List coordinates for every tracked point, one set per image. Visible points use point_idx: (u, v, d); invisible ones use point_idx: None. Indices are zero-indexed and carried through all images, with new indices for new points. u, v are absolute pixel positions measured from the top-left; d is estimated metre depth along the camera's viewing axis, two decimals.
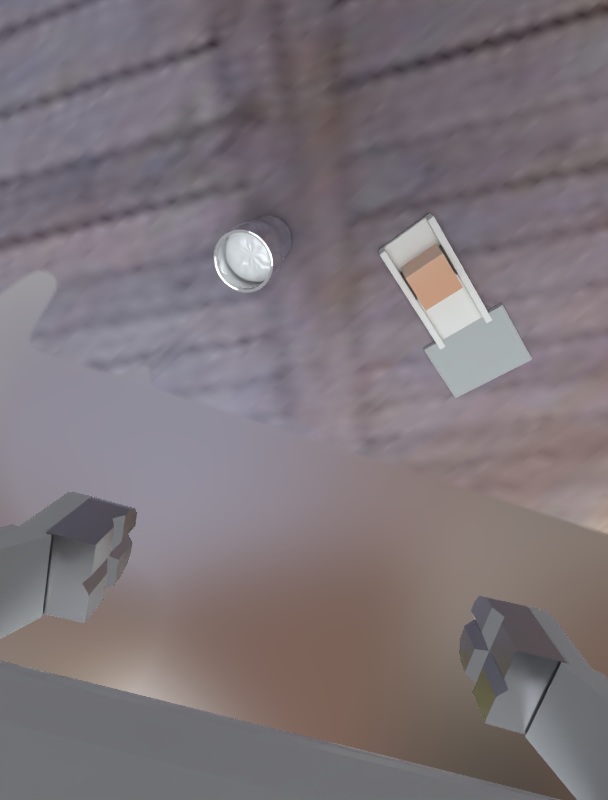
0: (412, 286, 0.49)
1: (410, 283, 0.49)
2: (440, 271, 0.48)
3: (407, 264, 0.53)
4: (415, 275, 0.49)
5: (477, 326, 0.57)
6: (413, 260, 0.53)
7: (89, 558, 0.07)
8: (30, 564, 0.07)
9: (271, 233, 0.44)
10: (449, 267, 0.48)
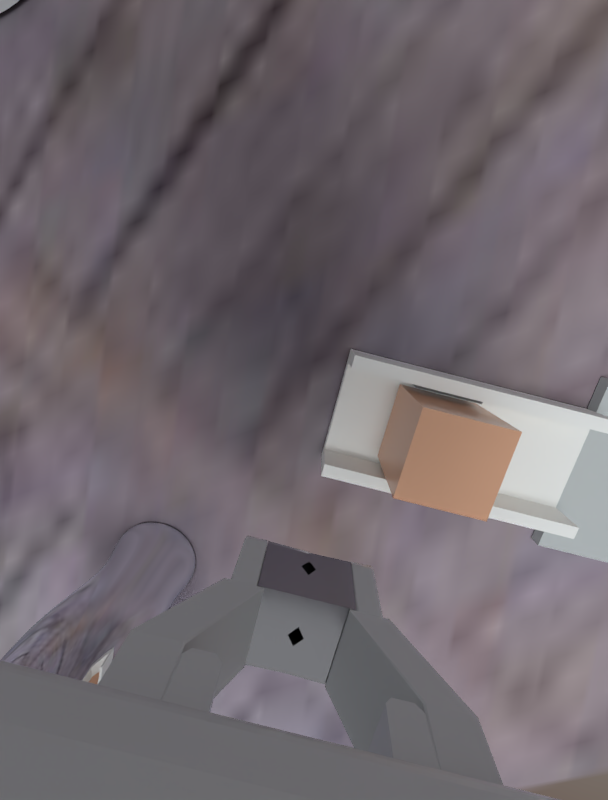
0: (419, 501, 0.20)
1: (411, 499, 0.20)
2: (448, 440, 0.20)
3: (382, 447, 0.25)
4: (408, 480, 0.20)
5: (598, 443, 0.26)
6: (386, 435, 0.25)
7: (297, 610, 0.07)
8: (248, 618, 0.07)
9: (59, 643, 0.18)
10: (460, 419, 0.19)
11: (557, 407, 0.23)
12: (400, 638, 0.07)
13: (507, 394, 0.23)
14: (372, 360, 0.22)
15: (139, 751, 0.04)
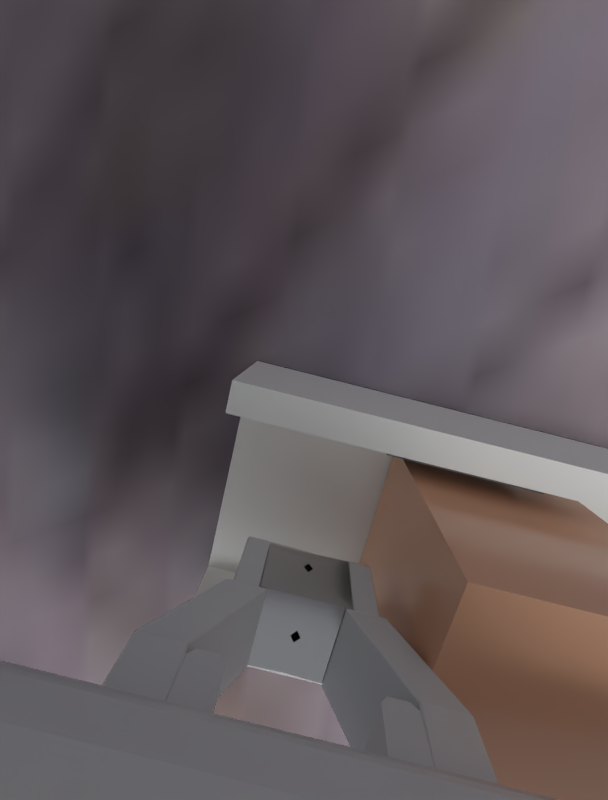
0: None
1: None
2: (548, 678, 0.06)
3: None
4: None
5: None
6: (368, 557, 0.12)
7: (299, 611, 0.07)
8: (250, 619, 0.07)
9: None
10: (588, 622, 0.06)
11: None
12: (396, 637, 0.07)
13: None
14: (276, 393, 0.09)
15: (139, 751, 0.04)
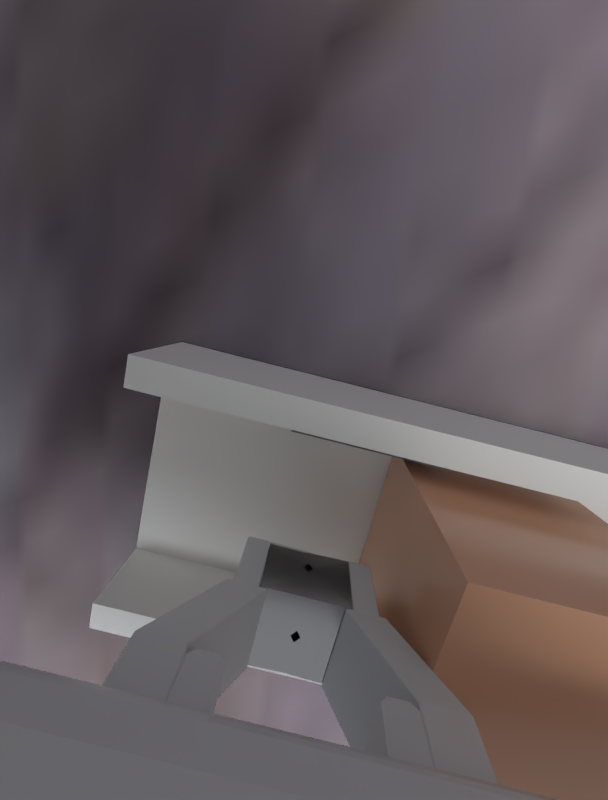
0: None
1: None
2: (548, 678, 0.06)
3: None
4: None
5: None
6: (368, 557, 0.12)
7: (299, 611, 0.07)
8: (251, 619, 0.07)
9: None
10: (588, 622, 0.06)
11: None
12: (396, 637, 0.07)
13: (509, 451, 0.09)
14: (173, 367, 0.09)
15: (139, 751, 0.04)
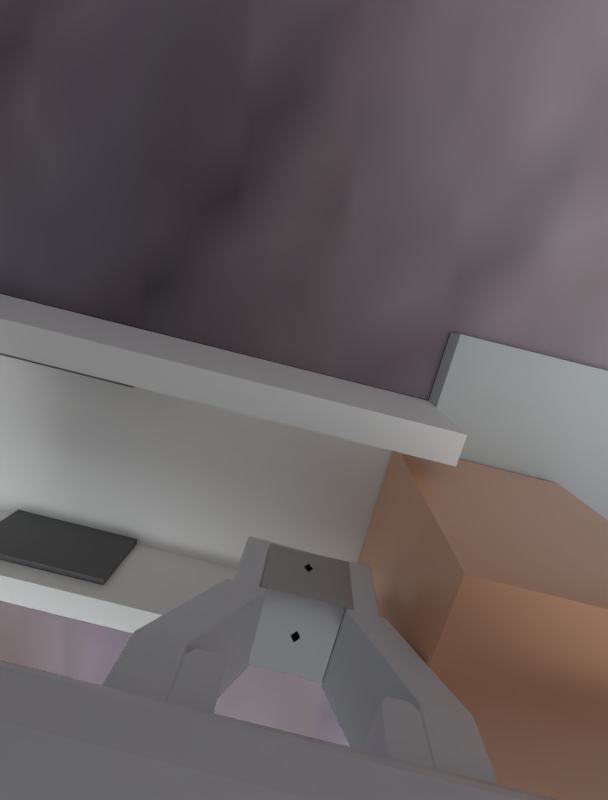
0: None
1: None
2: (544, 670, 0.06)
3: None
4: None
5: None
6: (367, 553, 0.12)
7: (299, 611, 0.07)
8: (250, 619, 0.07)
9: None
10: (584, 613, 0.06)
11: (295, 394, 0.09)
12: (396, 637, 0.07)
13: (169, 362, 0.09)
14: None
15: (139, 751, 0.04)
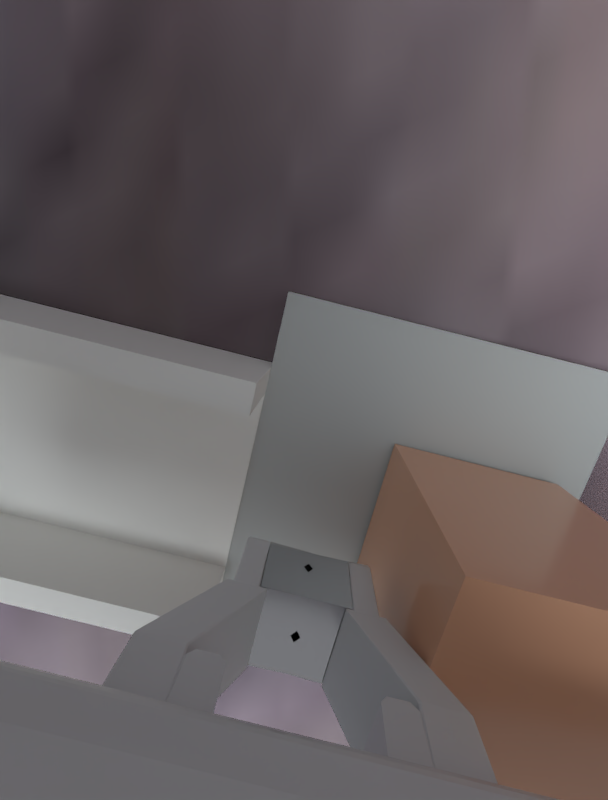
0: None
1: None
2: (544, 671, 0.06)
3: None
4: None
5: (288, 434, 0.12)
6: (367, 553, 0.12)
7: (299, 611, 0.07)
8: (251, 619, 0.07)
9: None
10: (585, 615, 0.06)
11: (83, 342, 0.09)
12: (396, 637, 0.07)
13: None
14: None
15: (139, 751, 0.04)
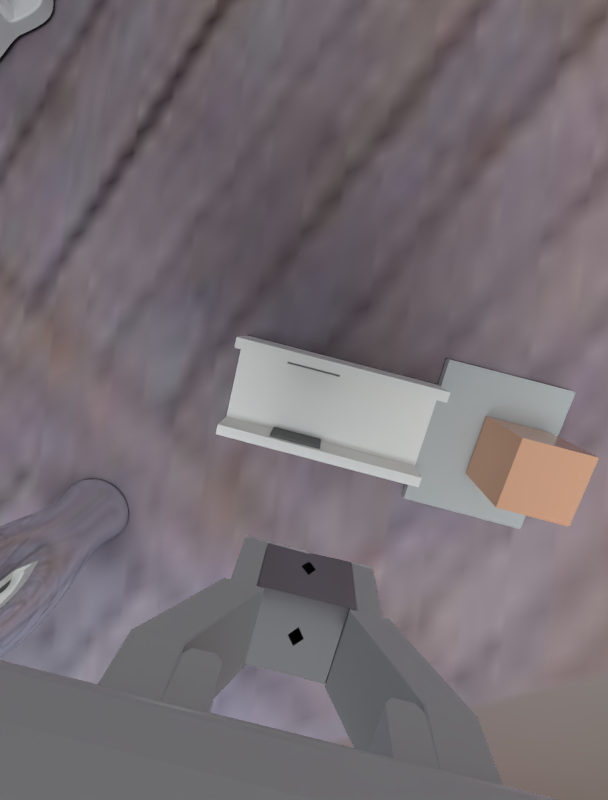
0: (516, 510, 0.26)
1: (510, 508, 0.26)
2: (541, 463, 0.26)
3: (472, 467, 0.31)
4: (508, 494, 0.26)
5: (445, 412, 0.32)
6: (476, 457, 0.31)
7: (297, 610, 0.07)
8: (248, 618, 0.07)
9: None
10: (551, 447, 0.25)
11: (395, 379, 0.29)
12: (400, 638, 0.07)
13: (356, 368, 0.29)
14: (250, 341, 0.29)
15: (139, 751, 0.04)
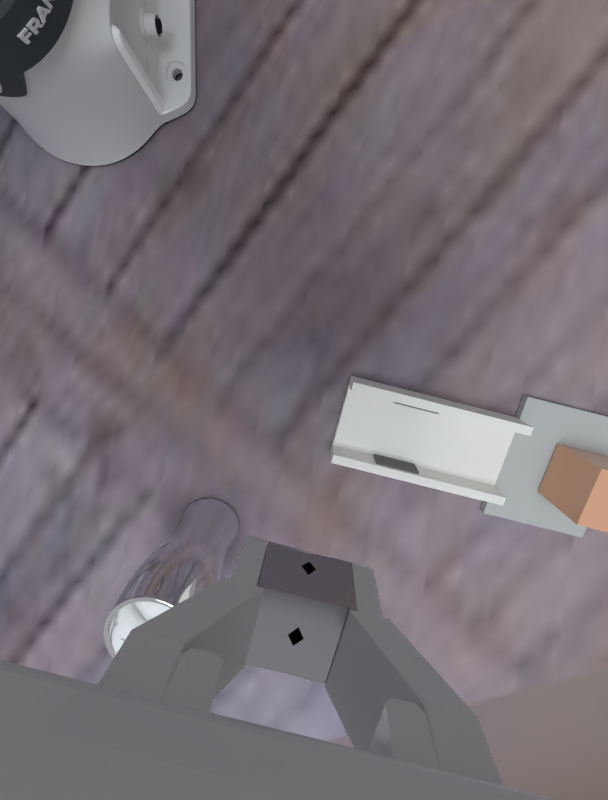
0: (594, 526, 0.32)
1: (588, 525, 0.32)
2: None
3: (545, 487, 0.37)
4: (587, 513, 0.32)
5: (522, 440, 0.37)
6: (549, 478, 0.37)
7: (297, 610, 0.07)
8: (248, 618, 0.07)
9: (172, 562, 0.30)
10: None
11: (487, 416, 0.34)
12: (400, 638, 0.07)
13: (454, 407, 0.34)
14: (365, 385, 0.34)
15: (139, 751, 0.04)
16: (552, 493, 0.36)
